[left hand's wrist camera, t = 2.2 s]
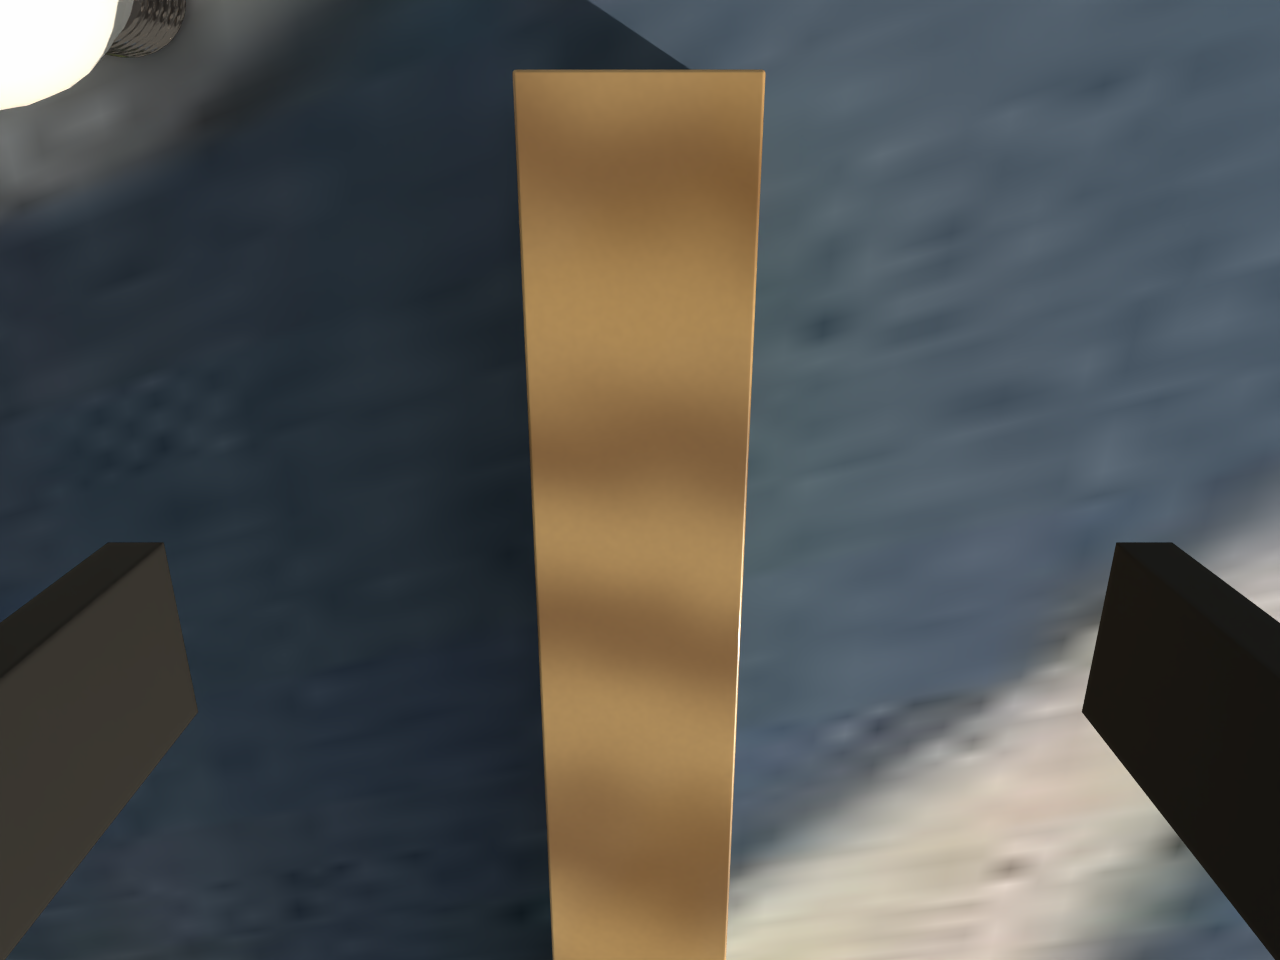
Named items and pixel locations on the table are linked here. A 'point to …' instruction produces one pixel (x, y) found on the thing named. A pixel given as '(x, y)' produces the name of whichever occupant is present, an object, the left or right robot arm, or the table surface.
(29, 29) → the light bulb
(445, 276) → the table surface
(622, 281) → the bar
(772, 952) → the table surface
